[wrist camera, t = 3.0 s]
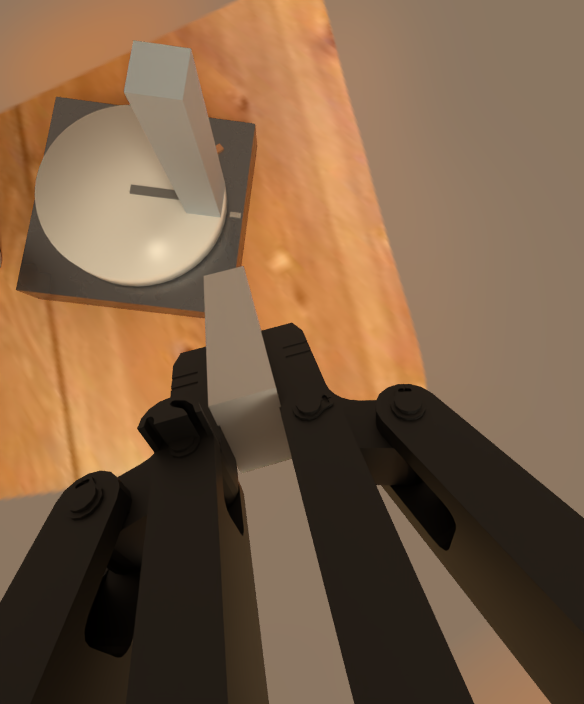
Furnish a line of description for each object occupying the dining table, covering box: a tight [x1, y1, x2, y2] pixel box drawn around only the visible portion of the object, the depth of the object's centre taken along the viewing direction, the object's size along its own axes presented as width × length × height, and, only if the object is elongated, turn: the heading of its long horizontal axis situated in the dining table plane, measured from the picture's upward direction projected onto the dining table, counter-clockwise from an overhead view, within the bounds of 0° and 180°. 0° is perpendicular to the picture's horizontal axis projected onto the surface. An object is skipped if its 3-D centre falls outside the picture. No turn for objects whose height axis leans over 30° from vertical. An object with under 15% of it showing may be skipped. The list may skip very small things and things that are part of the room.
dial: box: [35, 41, 227, 287], centre depth 24 cm, size 16×16×14 cm
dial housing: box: [16, 97, 257, 318], centre depth 33 cm, size 19×19×3 cm
